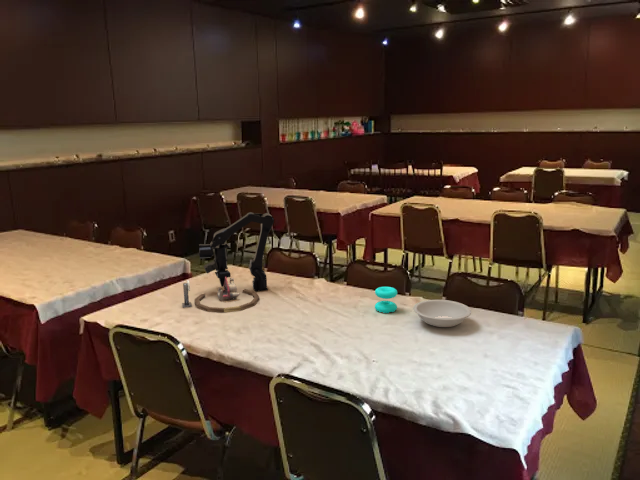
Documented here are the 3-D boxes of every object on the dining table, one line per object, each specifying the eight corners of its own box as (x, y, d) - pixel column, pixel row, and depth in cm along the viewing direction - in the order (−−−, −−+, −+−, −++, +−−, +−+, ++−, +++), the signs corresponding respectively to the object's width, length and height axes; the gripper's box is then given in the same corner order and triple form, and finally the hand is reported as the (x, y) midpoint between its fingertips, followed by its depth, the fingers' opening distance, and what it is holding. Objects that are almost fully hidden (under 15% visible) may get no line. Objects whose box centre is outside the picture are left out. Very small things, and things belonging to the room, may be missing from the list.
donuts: (375, 292, 242) (375, 285, 251) (374, 313, 244) (374, 306, 254) (397, 292, 241) (396, 285, 250) (397, 314, 243) (396, 306, 253)
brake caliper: (210, 292, 269) (224, 271, 269) (228, 302, 274) (242, 282, 274) (215, 299, 259) (229, 278, 259) (234, 309, 263) (248, 289, 264)
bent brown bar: (253, 290, 278) (253, 288, 277) (264, 307, 254) (264, 304, 253) (193, 297, 268) (192, 294, 268) (199, 315, 244) (198, 312, 244)
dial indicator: (190, 303, 260) (188, 278, 257) (191, 307, 255) (189, 281, 253) (182, 304, 259) (180, 279, 256) (183, 308, 254) (181, 282, 251)
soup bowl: (472, 336, 218) (473, 321, 216) (411, 332, 222) (412, 317, 221) (468, 315, 241) (469, 301, 239) (413, 312, 245) (414, 298, 244)
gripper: (202, 253, 278) (204, 283, 281) (206, 263, 261) (208, 294, 264) (224, 251, 281) (225, 280, 285) (229, 260, 264) (231, 291, 268)
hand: (222, 286), depth 275 cm, fingers closed
